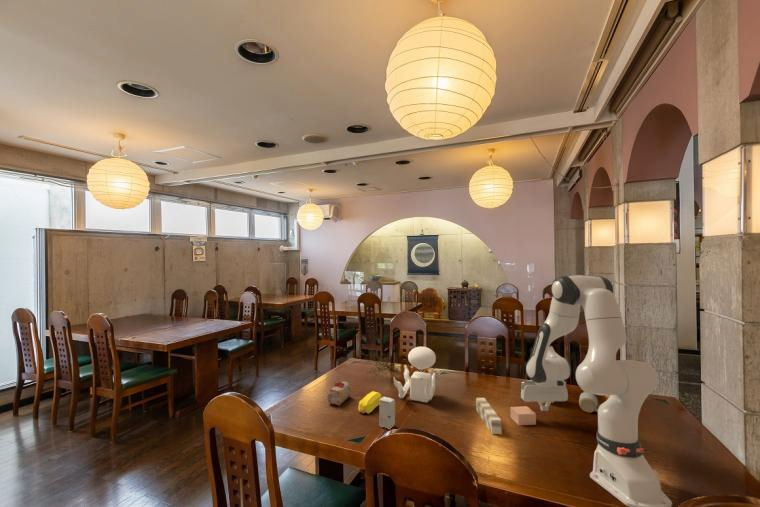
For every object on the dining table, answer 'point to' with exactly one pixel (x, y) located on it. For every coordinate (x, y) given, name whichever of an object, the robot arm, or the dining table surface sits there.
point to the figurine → (418, 376)
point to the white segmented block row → (488, 416)
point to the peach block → (523, 415)
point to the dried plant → (377, 361)
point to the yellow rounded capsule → (369, 402)
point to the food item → (339, 393)
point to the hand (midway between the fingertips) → (544, 410)
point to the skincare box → (386, 412)
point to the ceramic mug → (588, 402)
